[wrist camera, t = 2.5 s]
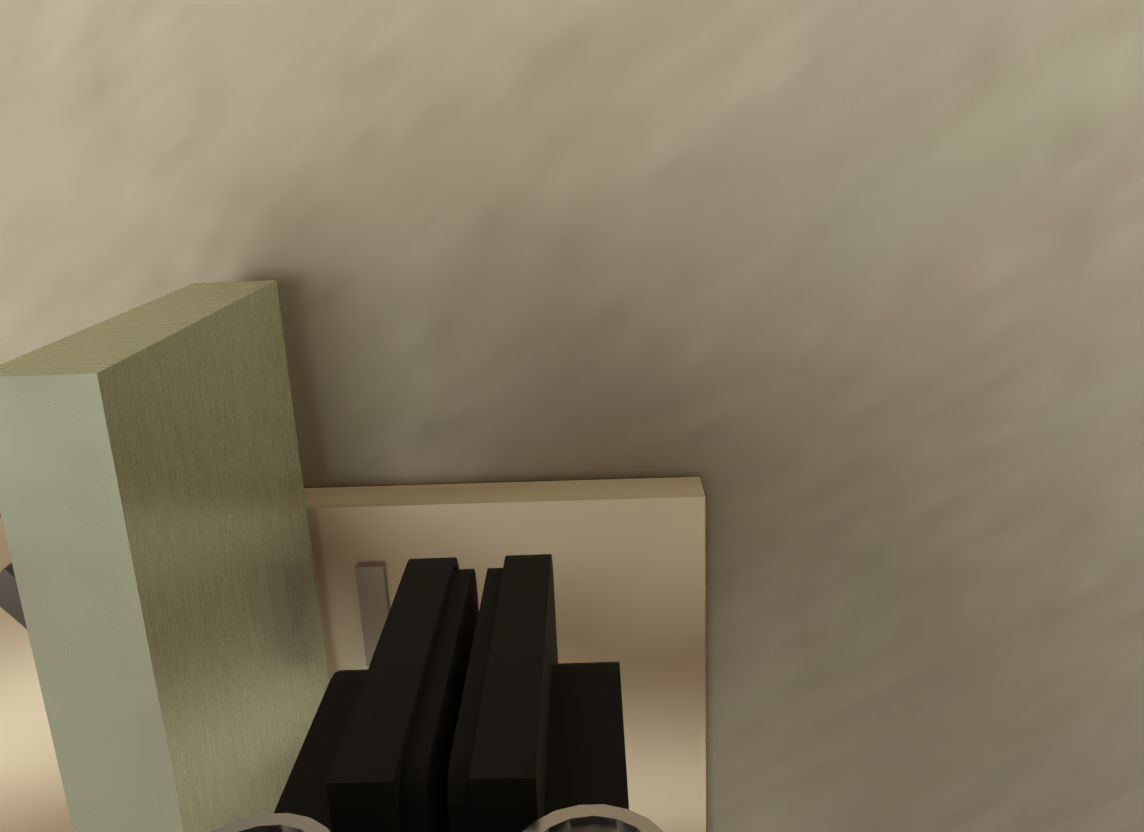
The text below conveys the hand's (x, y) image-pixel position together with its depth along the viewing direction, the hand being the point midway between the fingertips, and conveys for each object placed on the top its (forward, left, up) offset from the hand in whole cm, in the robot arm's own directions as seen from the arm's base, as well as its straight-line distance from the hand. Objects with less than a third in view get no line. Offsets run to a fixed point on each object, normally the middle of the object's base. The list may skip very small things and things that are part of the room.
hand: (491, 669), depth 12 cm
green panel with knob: (-5, +6, -9) cm, 12 cm away
